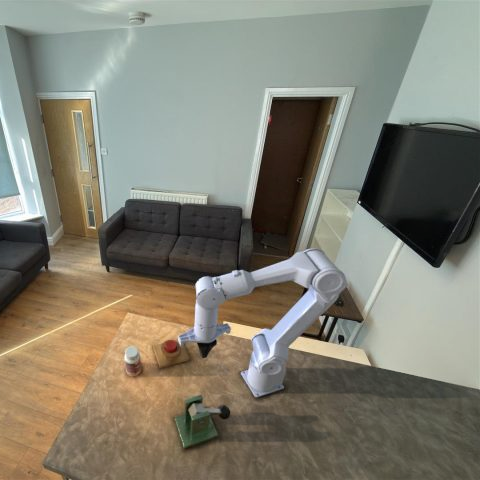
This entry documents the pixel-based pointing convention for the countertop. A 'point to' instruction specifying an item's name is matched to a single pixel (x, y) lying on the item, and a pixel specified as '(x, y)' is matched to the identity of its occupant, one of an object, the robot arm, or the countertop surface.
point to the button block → (170, 354)
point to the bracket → (195, 425)
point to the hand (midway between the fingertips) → (203, 355)
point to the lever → (210, 410)
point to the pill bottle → (132, 361)
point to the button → (170, 346)
